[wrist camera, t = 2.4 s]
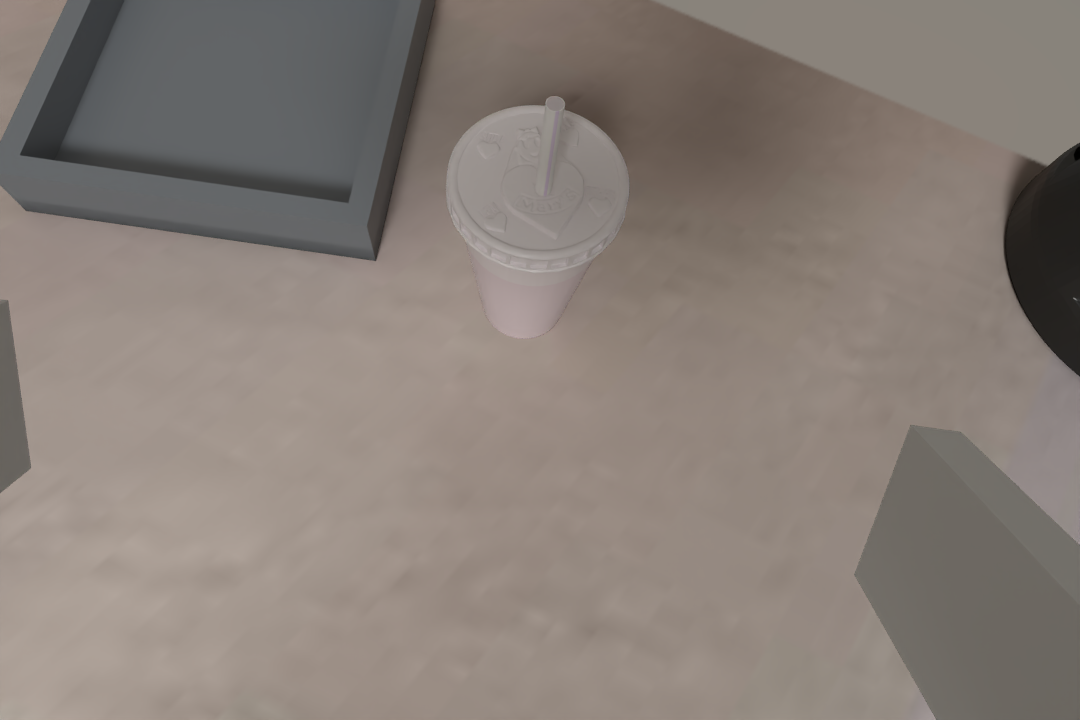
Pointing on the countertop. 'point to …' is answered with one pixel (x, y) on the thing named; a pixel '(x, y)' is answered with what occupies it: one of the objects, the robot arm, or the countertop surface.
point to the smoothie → (534, 209)
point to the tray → (222, 118)
